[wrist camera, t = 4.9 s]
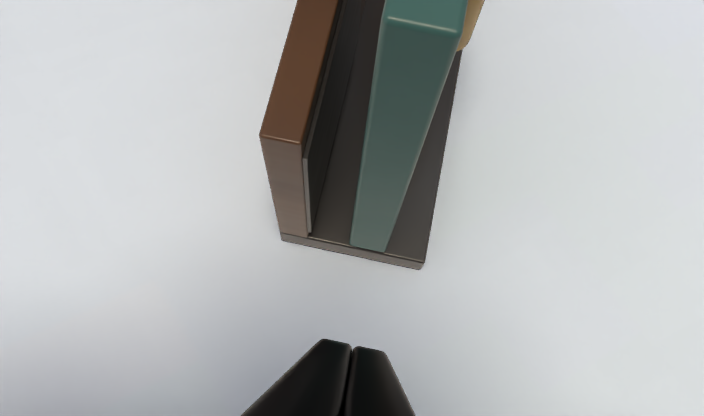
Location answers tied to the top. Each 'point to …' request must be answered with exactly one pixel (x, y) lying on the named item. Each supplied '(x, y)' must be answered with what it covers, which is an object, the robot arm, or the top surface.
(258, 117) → the top surface
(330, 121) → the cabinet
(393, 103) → the sliding door
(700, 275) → the top surface
